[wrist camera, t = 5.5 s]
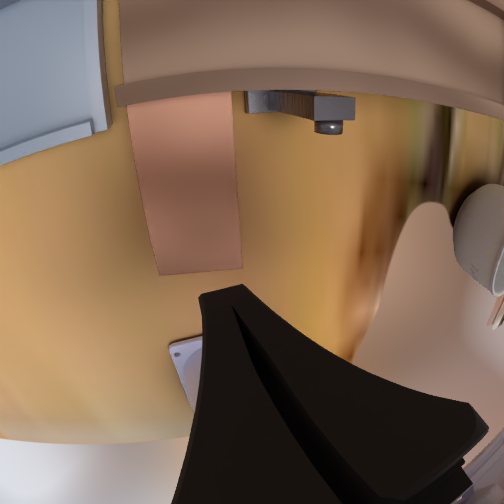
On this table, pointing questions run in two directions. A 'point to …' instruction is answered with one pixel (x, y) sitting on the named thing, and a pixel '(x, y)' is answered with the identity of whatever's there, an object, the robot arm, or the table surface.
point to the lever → (276, 78)
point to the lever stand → (304, 107)
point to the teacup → (482, 237)
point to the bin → (50, 74)
